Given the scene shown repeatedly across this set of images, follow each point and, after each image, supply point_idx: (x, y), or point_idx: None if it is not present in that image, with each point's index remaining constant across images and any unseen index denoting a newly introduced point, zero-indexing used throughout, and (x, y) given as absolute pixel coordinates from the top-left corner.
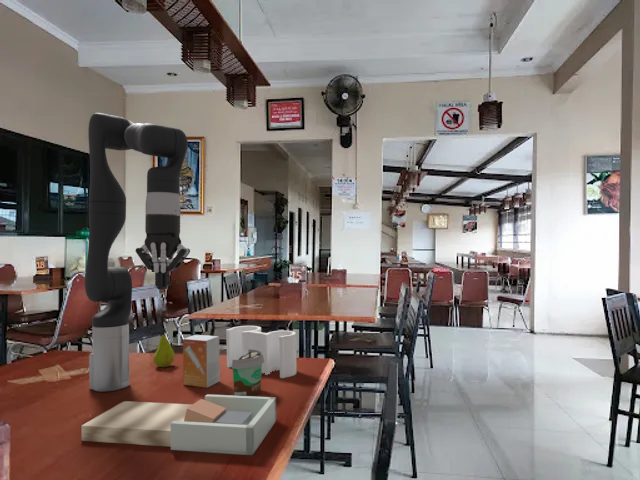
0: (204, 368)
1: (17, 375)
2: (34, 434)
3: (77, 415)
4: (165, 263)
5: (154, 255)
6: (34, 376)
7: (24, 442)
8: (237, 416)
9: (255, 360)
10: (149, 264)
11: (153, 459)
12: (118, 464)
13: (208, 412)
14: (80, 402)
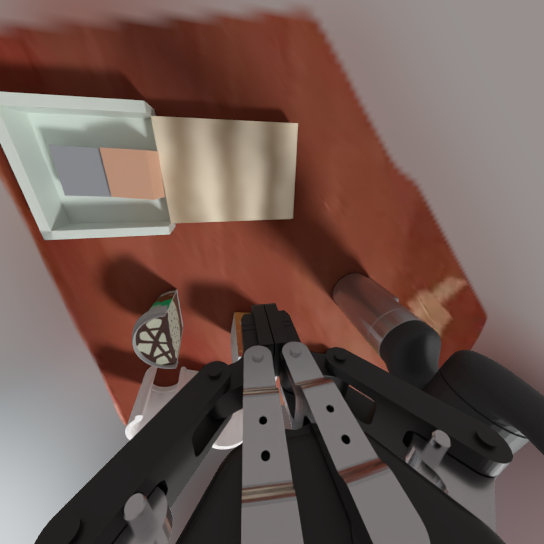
0: (239, 327)
1: (464, 297)
2: (359, 139)
3: (341, 202)
4: (247, 389)
5: (334, 420)
6: (446, 299)
7: (357, 113)
8: (77, 175)
9: (133, 330)
10: (345, 369)
11: (158, 74)
12: (197, 52)
13: (117, 162)
14: (359, 240)
